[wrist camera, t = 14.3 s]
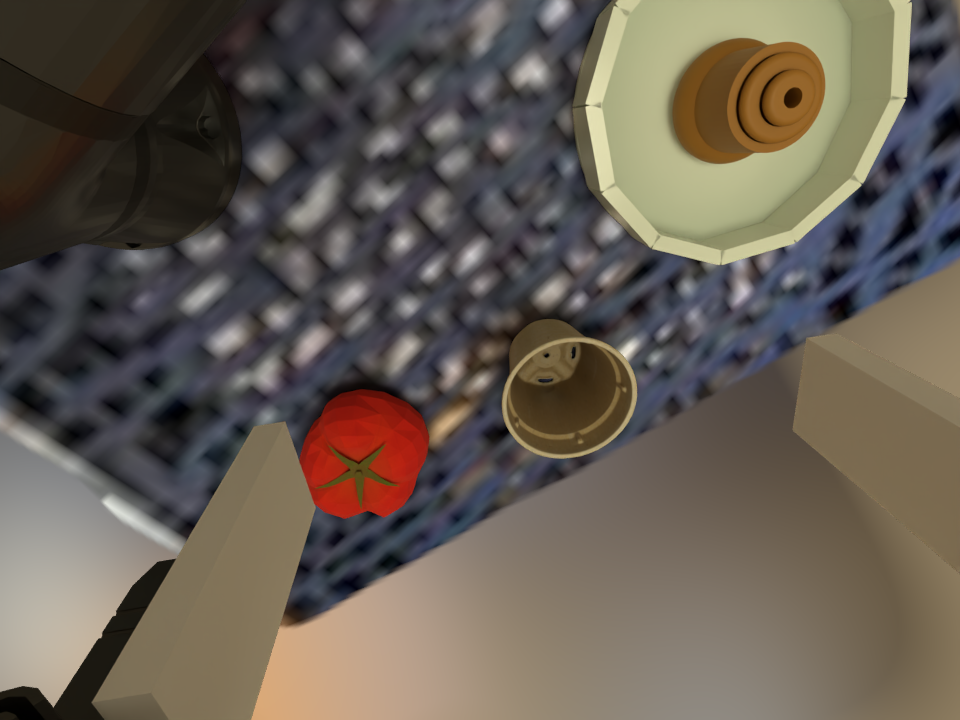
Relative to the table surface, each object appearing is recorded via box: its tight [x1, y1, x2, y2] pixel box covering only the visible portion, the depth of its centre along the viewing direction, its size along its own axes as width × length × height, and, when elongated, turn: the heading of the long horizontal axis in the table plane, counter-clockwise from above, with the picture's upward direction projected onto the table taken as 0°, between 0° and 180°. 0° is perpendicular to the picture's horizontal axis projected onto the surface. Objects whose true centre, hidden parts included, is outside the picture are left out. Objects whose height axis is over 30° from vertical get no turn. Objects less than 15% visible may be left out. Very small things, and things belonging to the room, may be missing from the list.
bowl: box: [572, 0, 912, 265], centre depth 34 cm, size 20×20×4 cm
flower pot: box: [502, 319, 637, 459], centre depth 39 cm, size 9×9×9 cm
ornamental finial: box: [672, 38, 825, 164], centre depth 32 cm, size 8×8×8 cm
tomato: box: [299, 389, 429, 518], centre depth 42 cm, size 10×11×6 cm
